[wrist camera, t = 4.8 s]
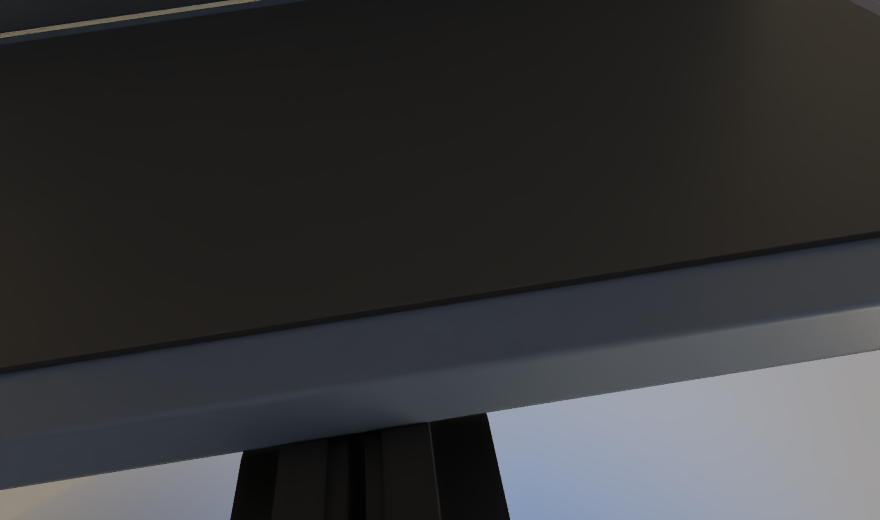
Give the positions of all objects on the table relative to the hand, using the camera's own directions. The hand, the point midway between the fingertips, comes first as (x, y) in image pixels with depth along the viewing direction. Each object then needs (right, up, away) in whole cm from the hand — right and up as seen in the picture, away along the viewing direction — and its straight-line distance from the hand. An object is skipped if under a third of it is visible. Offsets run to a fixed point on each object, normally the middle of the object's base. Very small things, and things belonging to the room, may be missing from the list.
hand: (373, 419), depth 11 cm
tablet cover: (-1, +5, +4) cm, 6 cm away
